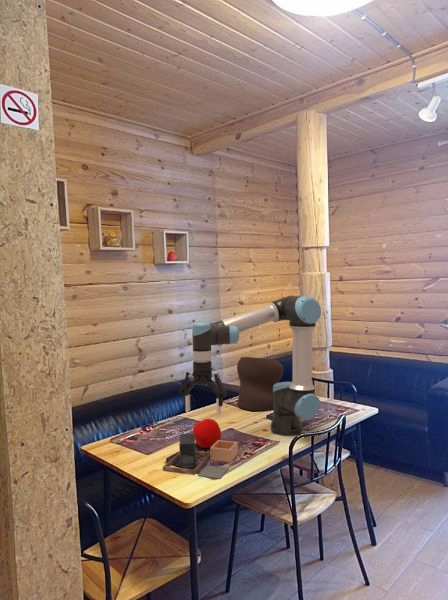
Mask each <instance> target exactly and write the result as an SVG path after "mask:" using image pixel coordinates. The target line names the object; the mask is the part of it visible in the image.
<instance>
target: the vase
mask: <svg viewBox="0 0 448 600" xmlns="http://www.w3.org/2000/svg"><path fill="white" fill-rule="evenodd" d="M236 370H237V375H238V378H239V392H238V399H237V406H238V407H239V408H241V409H242V410H245V411H251V412H264V411H271V410H274V404H273V386H274V384H276V383H280V381H281V379H282V377H283V376H284V373H285V372H284V371H285V370H284V366H283V365H282V363H280V361H278V360H277V359H272V358H271V359H269V358H260V357H251V356H241V357H240V358H239V359H238V362H237V365H236Z"/></svg>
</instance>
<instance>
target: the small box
mask: <svg viewBox="0 0 448 600" xmlns="http://www.w3.org/2000/svg"><path fill="white" fill-rule="evenodd" d="M178 445H179V448H178V449H179V452H180V458H179V463H180V464H179V466H180V468H183V469H191V470H194V469H195V468H196V467H197V456H196V452H195V451H196V441H195V435H194V433H193V432H192V433H185V434H184V433H183V434H180V435H179V443H178ZM179 452H178V453H179Z"/></svg>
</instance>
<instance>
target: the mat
mask: <svg viewBox="0 0 448 600" xmlns="http://www.w3.org/2000/svg"><path fill="white" fill-rule="evenodd" d="M228 470H229V467H226V466H215V465H208V464H207V465H206V466H205V467H203V468H202V470H201V471H200V472H199V473H198V474H197V477H203V478H207V479H208V478H209V479H215V480H221V479H222V477H223V476H224V475H225V474H226V473H227V471H228ZM225 472H226V473H225Z"/></svg>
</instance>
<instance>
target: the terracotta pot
mask: <svg viewBox="0 0 448 600" xmlns="http://www.w3.org/2000/svg"><path fill="white" fill-rule="evenodd" d="M209 449H210V450H209V453H210V459H209V460H210V461H218V462H225V463H232V462H233V461H234V460H235V458H237V456H238V455H239V443H238V441H233V440H232V441H231V440H221V439H220V440H217V441H216V442H215V443H214V444H213V445H212V446H211V447H209Z"/></svg>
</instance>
